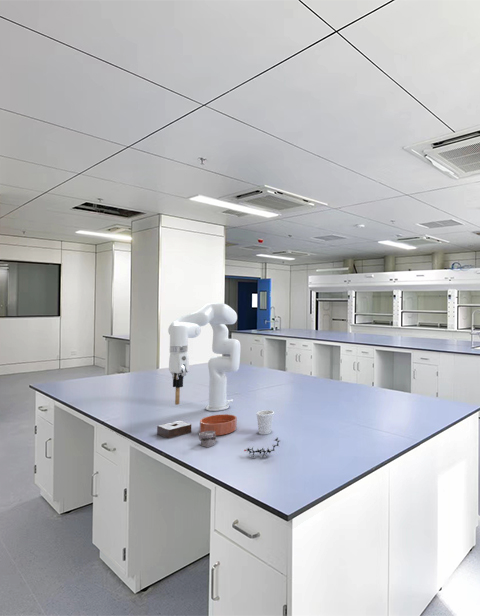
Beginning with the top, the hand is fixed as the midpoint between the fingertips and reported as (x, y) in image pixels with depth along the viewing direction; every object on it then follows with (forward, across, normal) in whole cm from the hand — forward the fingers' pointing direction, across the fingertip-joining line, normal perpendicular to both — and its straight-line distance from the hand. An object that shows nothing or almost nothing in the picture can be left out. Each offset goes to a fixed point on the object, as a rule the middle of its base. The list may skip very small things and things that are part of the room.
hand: (177, 386), depth 183 cm
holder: (+23, 0, +1) cm, 23 cm away
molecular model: (+23, -57, -5) cm, 61 cm away
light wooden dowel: (+9, 0, 0) cm, 9 cm away
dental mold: (+23, -26, 0) cm, 34 cm away
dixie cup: (+23, -33, -25) cm, 48 cm away
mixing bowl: (+23, -14, -13) cm, 30 cm away
